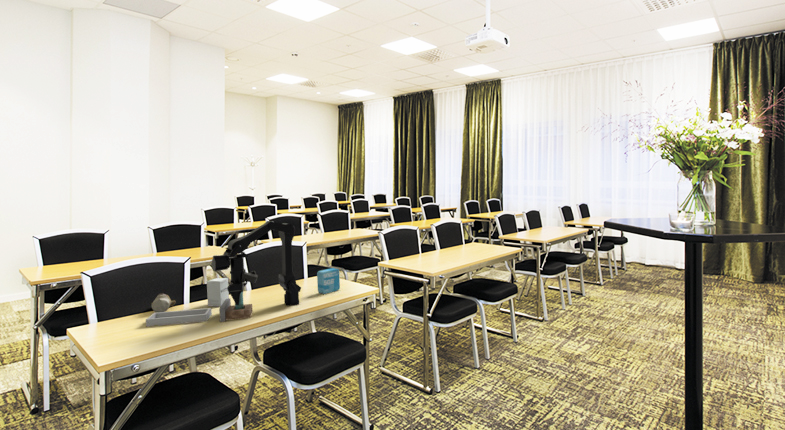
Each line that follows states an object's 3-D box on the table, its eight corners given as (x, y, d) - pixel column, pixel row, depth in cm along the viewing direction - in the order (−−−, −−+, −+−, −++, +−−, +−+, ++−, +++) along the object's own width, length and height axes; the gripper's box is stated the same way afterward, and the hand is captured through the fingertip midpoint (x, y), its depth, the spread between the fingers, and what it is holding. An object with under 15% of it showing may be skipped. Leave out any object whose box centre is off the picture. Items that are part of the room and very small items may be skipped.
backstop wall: (231, 310, 196) (230, 298, 196) (225, 321, 181) (224, 307, 180) (226, 311, 196) (225, 298, 196) (220, 322, 180) (219, 308, 180)
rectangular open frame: (211, 314, 192) (211, 308, 192) (206, 321, 182) (206, 314, 182) (154, 319, 187) (153, 312, 187) (146, 326, 177) (145, 319, 177)
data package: (323, 294, 222) (322, 272, 221) (317, 293, 225) (316, 271, 224) (340, 290, 231) (339, 268, 230) (334, 288, 234) (333, 267, 233)
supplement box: (221, 306, 204) (219, 281, 203) (207, 306, 206) (205, 281, 205) (229, 302, 211) (228, 277, 210) (216, 302, 213) (215, 277, 212)
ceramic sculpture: (145, 296, 193) (152, 291, 207) (146, 315, 193) (153, 308, 207) (171, 294, 197) (176, 289, 211) (172, 312, 197) (177, 306, 211)
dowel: (244, 312, 191) (243, 291, 191) (243, 314, 188) (241, 293, 187) (236, 313, 191) (235, 291, 190) (234, 315, 187) (233, 293, 187)
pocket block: (252, 312, 195) (252, 303, 195) (250, 318, 185) (249, 309, 185) (229, 314, 193) (229, 305, 193) (226, 320, 183) (225, 311, 183)
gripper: (253, 270, 181) (255, 306, 182) (258, 263, 199) (259, 295, 200) (226, 272, 178) (228, 308, 180) (233, 264, 197) (235, 297, 198)
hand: (239, 302), depth 189 cm, fingers open, 9 cm apart
